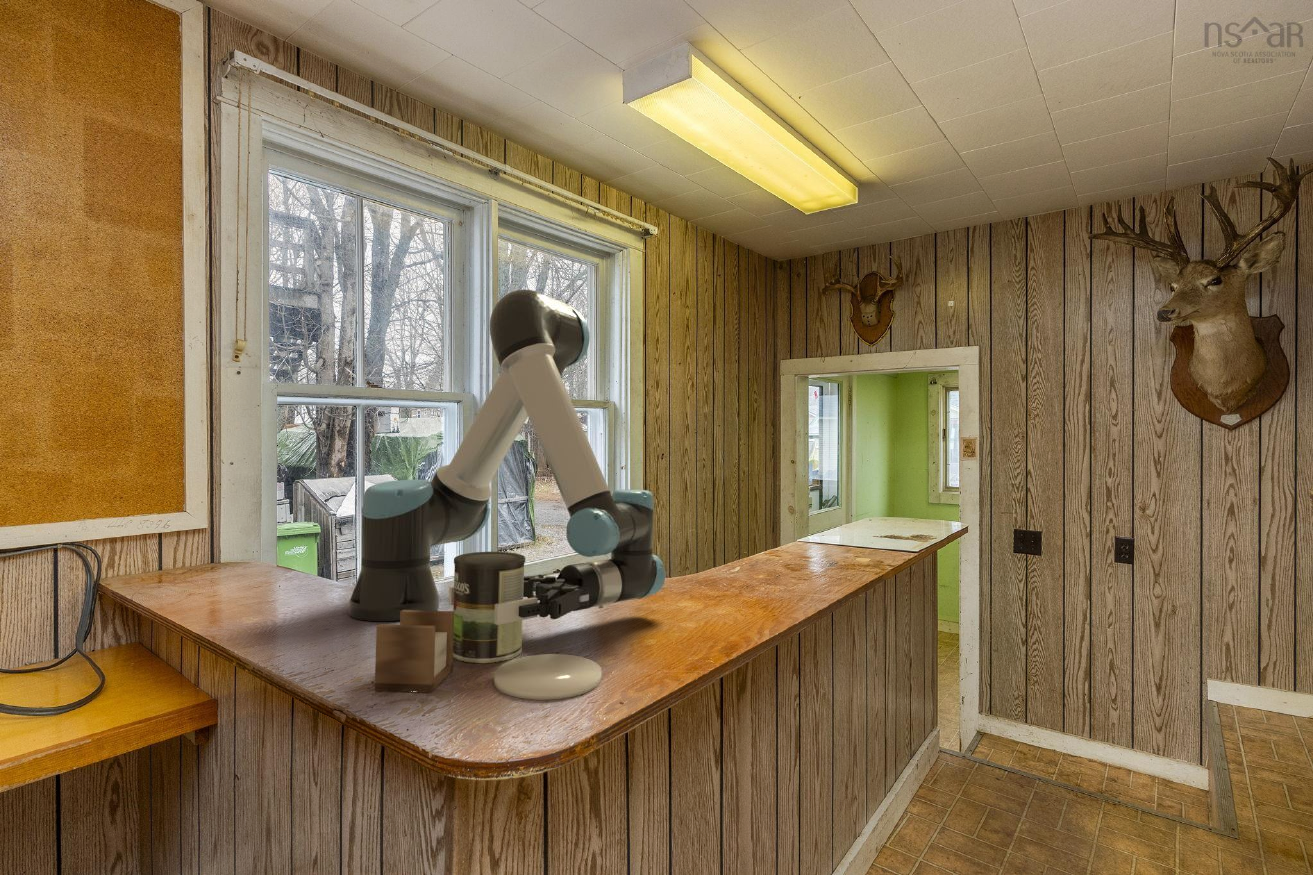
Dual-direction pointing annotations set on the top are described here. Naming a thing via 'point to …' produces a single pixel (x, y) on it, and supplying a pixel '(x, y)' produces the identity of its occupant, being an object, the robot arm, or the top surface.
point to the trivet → (547, 676)
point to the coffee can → (486, 606)
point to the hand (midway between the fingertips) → (471, 604)
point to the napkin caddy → (414, 651)
